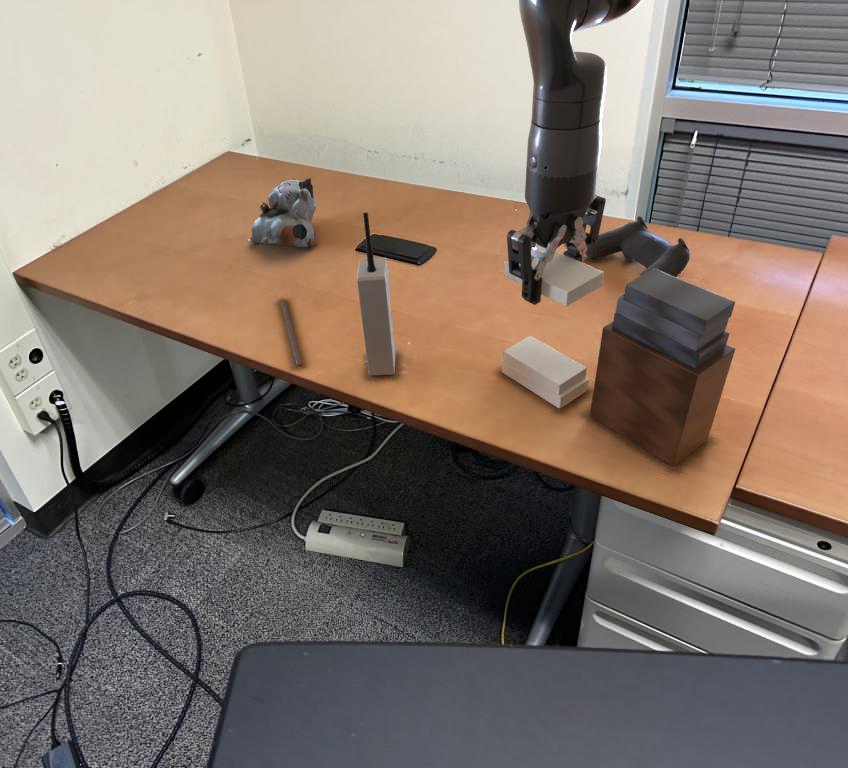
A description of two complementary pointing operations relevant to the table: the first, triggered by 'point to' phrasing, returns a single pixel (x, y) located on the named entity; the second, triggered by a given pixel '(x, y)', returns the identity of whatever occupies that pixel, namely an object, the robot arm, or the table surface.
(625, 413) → the brown wooden tall block
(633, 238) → the gaming controller
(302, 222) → the lucky cat figurine
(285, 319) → the rod
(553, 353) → the white stack
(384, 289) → the vintage mobile phone
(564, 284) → the white book
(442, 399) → the table surface
